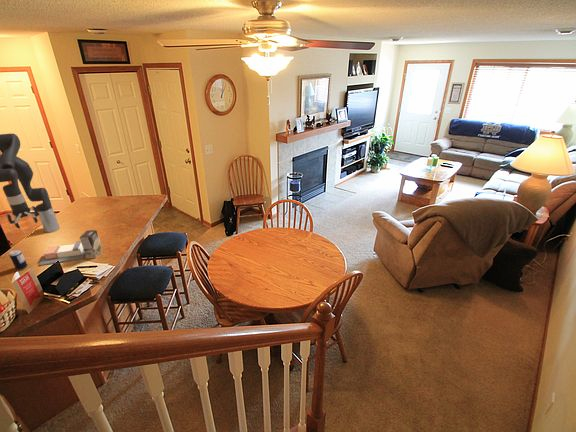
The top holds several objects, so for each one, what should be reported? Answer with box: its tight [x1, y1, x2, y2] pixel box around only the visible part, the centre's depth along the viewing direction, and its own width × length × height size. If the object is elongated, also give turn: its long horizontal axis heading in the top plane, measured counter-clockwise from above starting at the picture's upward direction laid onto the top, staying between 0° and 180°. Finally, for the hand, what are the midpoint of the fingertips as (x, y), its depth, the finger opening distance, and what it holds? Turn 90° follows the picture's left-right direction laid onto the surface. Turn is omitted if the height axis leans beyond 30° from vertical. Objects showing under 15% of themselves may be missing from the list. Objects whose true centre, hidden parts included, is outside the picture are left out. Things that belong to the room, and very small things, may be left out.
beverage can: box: [8, 249, 28, 271], centre depth 183 cm, size 6×6×12 cm
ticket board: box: [38, 240, 86, 267], centre depth 197 cm, size 18×24×6 cm
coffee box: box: [79, 229, 103, 259], centre depth 196 cm, size 9×6×16 cm
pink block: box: [43, 245, 60, 259], centre depth 195 cm, size 8×6×4 cm
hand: (27, 225), depth 184 cm, fingers open, 8 cm apart
